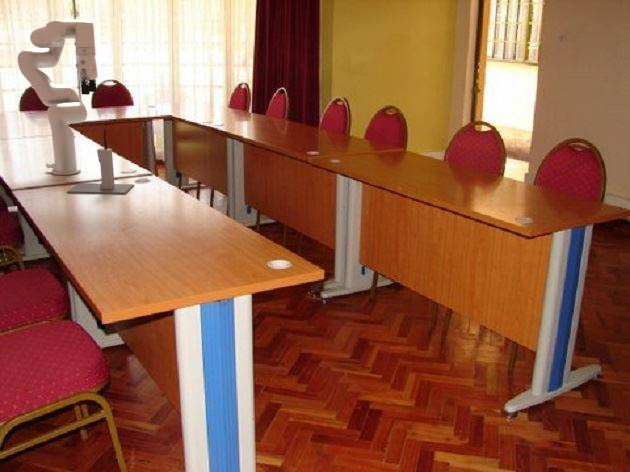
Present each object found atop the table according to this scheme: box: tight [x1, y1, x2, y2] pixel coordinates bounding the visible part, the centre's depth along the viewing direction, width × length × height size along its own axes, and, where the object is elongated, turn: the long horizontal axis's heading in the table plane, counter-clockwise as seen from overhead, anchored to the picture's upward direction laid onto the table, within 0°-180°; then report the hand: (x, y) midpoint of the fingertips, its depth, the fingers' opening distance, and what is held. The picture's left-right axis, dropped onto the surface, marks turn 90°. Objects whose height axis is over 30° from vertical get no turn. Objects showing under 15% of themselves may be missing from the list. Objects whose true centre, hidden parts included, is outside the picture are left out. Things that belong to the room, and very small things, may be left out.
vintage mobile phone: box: [96, 128, 115, 189], centre depth 279 cm, size 4×5×25 cm
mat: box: [66, 182, 135, 195], centre depth 284 cm, size 24×14×1 cm, turn 90°
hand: (89, 93), depth 287 cm, fingers open, 9 cm apart
